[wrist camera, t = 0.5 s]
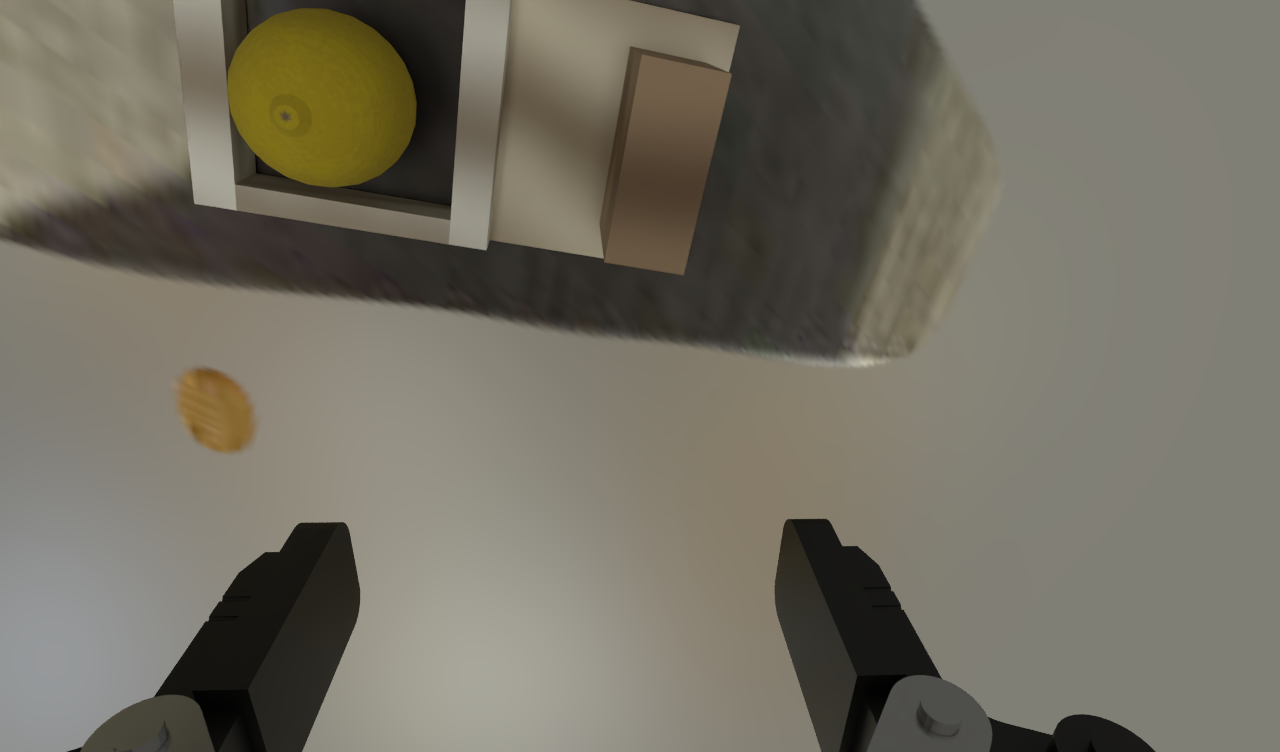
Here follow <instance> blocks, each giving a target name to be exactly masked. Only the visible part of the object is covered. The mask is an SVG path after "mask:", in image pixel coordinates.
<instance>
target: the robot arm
mask: <svg viewBox="0 0 1280 752" xmlns="http://www.w3.org/2000/svg"><path fill="white" fill-rule="evenodd" d="M775 604H776V611H777V615H778V619H779V622H780V625H781V628H782V631H783V634H784V637H785V640H786V643H787V647H788V649H789V653H790V655H791V659H792V662H793V665H794V668H795V671H796V674H797V677H798V680H799V683H800V687H801V690H802V693H803V696H804V698H805V702H806V705H807V708H808V711H809V714H810V717H811V720H812V723H813V726H814V730H815V733H816V736H817V739H818V742H819V745H820V748H821V751H822V752H1155V751H1154V750H1153V749H1152V748H1151V747H1150V746H1149V745H1148V744H1147V743H1146V742H1144V741H1143V740H1142V739H1141V738H1140V737H1138V736H1137V735H1135V734H1134V733H1132V732H1131V731H1129V730H1128V729H1126V728H1124V727H1122V726H1120V725H1118V724H1116V723H1114V722H1112V721H1110V720H1107V719H1103V718H1101V717H1097V716H1092V715H1084V714H1082V715H1072V716H1068V717H1066V718H1064V719H1062V720H1061V721H1060V722H1059V723H1058V725H1057V727H1056V729H1055V731H1054V733H1053V735H1050V734H1045V733H1042V732H1038V731H1034V730H1030V729H1026V728H1022V727H1018V726H1014V725H1010V724H1006V723H1003V722H1000V721H997V720H994V719H992V718H989V717H987V715H986V713H985V711H984V710H983V709H982V708H981V706H980V705H979V704H978V703H977V702H976V700H975V699H974V698H973V697H971V696H970V695H969V694H968V693H967V692H965V691H964V690H962V689H961V688H959V687H958V686H956V685H954V684H952V683H950V682H948V681H946V680H943V679H942V678H941V677H940V675H939V673H938V671H937V669H936V667H935V666H934V664H933V662H932V660H931V658H930V657H929V655H928V653H927V651H926V650H925V648H924V646H923V644H922V642H921V641H920V639H919V637H918V635H917V633H916V631H915V630H914V628H913V626H912V624H911V622H910V621H909V619H908V617H907V615H906V613H905V612H904V610H901V604H900V603H899V601H898V599H897V597H896V595H895V594H894V592H893V591H891V587H890V584H889V583H888V581H887V579H886V577H885V576H884V574H883V572H882V570H881V568H880V566H879V565H878V564H877V563H876V562H875V561H873V560H872V559H871V558H870V557H869V556H868V555H867V554H866V553H864V552H863V551H862V550H861V549H860V548H859V547H858V546H842V545H841V543H840V541H839V539H838V537H837V535H836V533H835V531H834V529H833V527H832V525H831V523H830V522H829V520H827V519H788V520H786V522H785V524H784V528H783V534H782V540H781V547H780V553H779V560H778V566H777V573H776V579H775ZM359 606H360V587H359V582H358V575H357V570H356V565H355V559H354V554H353V549H352V543H351V538H350V533H349V529H348V527H347V525H346V524H345V523H343V522H340V523H339V522H338V523H337V522H334V523H333V522H331V523H300V524H298V525H297V526H296V527H295V528H294V530H293V531H292V533H291V534H290V536H289V538H288V539H287V541H286V543H285V544H284V546H283V547H282V549H281V550H280V552H265V553H264V554H262V555H261V556H260V557H259V558H257V559H256V560H255V561H254V562H252V563H251V564H250V565H248V566H247V567H246V568H245V569H243V570H242V571H241V572H240V573H239V574H238V575H237V576H236V578H235V579H234V581H233V582H232V584H231V585H230V587H229V588H228V590H227V591H226V593H225V594H224V595H223V600H222V602H221V601H220V602H219V603H218V604H217V606H216V607H215V609H214V610H213V612H212V613H211V614H210V616H209V621H207V622H205V623H204V625H203V626H202V628H201V629H200V630H199V632H198V633H197V635H196V636H195V638H194V639H193V641H192V642H191V644H190V645H189V647H188V648H187V649H186V651H185V653H184V654H183V655H182V657H181V658H180V660H179V661H178V663H177V664H176V665H175V667H174V668H173V670H172V671H171V673H170V674H169V676H168V677H167V679H166V680H165V682H164V683H163V685H162V686H161V687H160V689H159V690H158V692H157V693H156V695H155V696H154V697H153V698H149V699H146V700H143V701H141V702H138V703H136V704H134V705H131V706H129V707H127V708H125V709H123V710H122V711H120V712H119V713H117V714H115V715H114V716H112V717H111V718H110V719H108V720H107V721H106V722H105V723H103V724H102V725H101V726H100V727H99V728H98V729H97V730H96V731H95V732H94V733H93V734H92V735H91V736H90V737H89V738H88V740H87V741H86V743H85V744H84V746H83V747H81V748H78V749H75V750H71V751H68V752H302V750H303V748H304V746H305V743H306V741H307V738H308V736H309V734H310V731H311V729H312V726H313V724H314V721H315V719H316V717H317V715H318V712H319V710H320V707H321V705H322V703H323V700H324V698H325V696H326V693H327V691H328V688H329V686H330V684H331V681H332V679H333V677H334V674H335V672H336V669H337V667H338V665H339V662H340V660H341V657H342V655H343V653H344V650H345V648H346V646H347V643H348V641H349V638H350V636H351V633H352V631H353V629H354V626H355V624H356V621H357V617H358V613H359Z"/></svg>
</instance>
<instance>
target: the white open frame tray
mask: <svg viewBox="0 0 1280 752" xmlns="http://www.w3.org/2000/svg"><path fill="white" fill-rule="evenodd" d="M173 5H174V15H175V24H176V34H177V43H178V52H179V62H180V71H181V81H182V90H183V100H184V109H185V119H186V128H187V138H188V147H189V157H190V166H191V176H192V185H193V195H194V204H200V205H206V206H212V207H219V208H225V209H231V210H237V211H244V212H250V213H256V214H262V215H269V216H275V217H281V218H287V219H294V220H300V221H306V222H312V223H319V224H325V225H331V226H337V227H344V228H350V229H356V230H362V231H369V232H375V233H381V234H387V235H394V236H400V237H406V238H412V239H419V240H425V241H431V242H437V243H444V244H450V245H456V246H462V247H469V248H475V249H481V250H486V249H487V247H488V244H489V241H490V240H493V241H499V242H505V243H511V244H518V245H524V246H530V247H536V248H542V249H548V250H554V251H561V252H567V253H573V254H579V255H585V256H591V257H597V258H604V262H605V263H612V264H618V265H624V266H630V267H636V268H642V269H649V270H655V271H661V272H667V273H673V274H680V275H684V271H685V267H686V263H687V259H688V255H689V251H690V246H691V242H692V238H693V234H694V230H695V226H696V221H697V217H698V213H699V209H700V205H701V201H702V197H703V192H704V188H705V184H706V180H707V176H708V172H709V167H710V163H711V159H712V155H713V151H714V147H715V142H716V138H717V134H718V130H719V126H720V122H721V117H722V113H723V109H724V105H725V101H726V97H727V92H728V88H729V84H730V80H731V76H732V74H731V73H729V70H730V66H731V62H732V57H733V53H734V49H735V45H736V40H737V36H738V32H739V28H740V26H739V25H735V24H731V23H726V22H722V21H718V20H713V19H709V18H705V17H700V16H696V15H692V14H687V13H683V12H678V11H674V10H670V9H665V8H661V7H657V6H652V5H648V4H644V3H639V2H635V1H631V0H466V5H465V20H464V34H463V48H462V62H461V77H460V91H459V105H458V119H457V134H456V148H455V162H454V176H453V191H452V205H451V206H447V205H441V204H435V203H429V202H423V201H417V200H412V199H406V198H400V197H394V196H388V195H382V194H376V193H370V192H364V191H358V190H352V189H347V188H341V187H323V186H315V185H308V184H305V183H302V182H299V181H297V180H293V179H288V178H282V177H276V176H270V175H264V174H258V173H256V163H255V153H254V152H253V151H252V150H251V149H250V147H249V146H248V144H247V143H246V142H245V140H244V139H243V137H242V136H241V135H240V133H239V131H238V129H237V127H236V124H235V122H234V120H233V117H232V115H231V112H230V106H229V101H228V96H227V83H228V70H229V67H230V65H231V62H232V59H233V57H234V54H235V51H236V49H237V48H238V47H239V45H240V44H241V43H242V41H243V40H244V39H245V38H246V36H247V35H248V34H247V18H246V2H245V0H173Z"/></svg>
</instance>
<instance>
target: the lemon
mask: <svg viewBox="0 0 1280 752" xmlns="http://www.w3.org/2000/svg"><path fill="white" fill-rule="evenodd" d="M227 96H228V101H229V106H230V112H231V115H232V117H233V120H234V122H235V124H236V127H237V129H238V131H239V133H240V135H241V136H242V137H243V139H244V140H245V142H246V143H247V144H248V146H249V147H250V149H251V150H252V151H253V152H254V153H255V154H256V155H257V156H258V157H260V158H261V159H262V160H263V161H264V162H265V163H266V164H267V165H268V166H270V167H272V168H273V169H275V170H277V171H278V172H280V173H281V174H283V175H285V176H286V177H288V178H291V179H294V180H297V181H299V182H302V183H305V184H308V185H315V186H323V187H342V186H350V185H357V184H360V183H363V182H365V181H368V180H370V179H372V178H375V177H377V176H379V175H381V174H382V173H383V172H385V171H386V170H387V169H388V168H390V167H391V166H392V165H393V164H394V163H396V162H397V161H398V159H399V158H400V156H401V155H402V153H403V152H404V150H405V149H406V148H407V146H408V145H409V142H410V139H411V136H412V133H413V130H414V127H415V124H416V106H417V102H416V97H415V91H414V86H413V82H412V79H411V77H410V75H409V72H408V70H407V68H406V65H405V63H404V62H403V60H402V59H401V58H400V56H399V55H398V53H397V52H396V51H395V49H394V48H393V46H392V45H391V44H390V43H389V42H388V41H387V40H385V39H384V38H383V37H382V36H381V35H380V34H379V33H378V32H377V31H376V30H375V29H373V28H372V27H370V26H368V25H366V24H365V23H363V22H361V21H359V20H358V19H356V18H354V17H352V16H350V15H346V14H343V13H339V12H336V11H332V10H329V9H313V8H299V9H295V10H291V11H287V12H283V13H280V14H276V15H274V16H272V17H270V18H269V19H267V20H266V21H264V22H263V23H261V24H260V25H258V26H257V27H255V28H254V29H252V30H251V31H250V33H249V34H248V35H247V36H246V38H245V39H244V40H243V41H242V43H241V44H240V45H239V47H238V48H237V49H236V51H235V54H234V57H233V59H232V62H231V65H230V67H229V70H228V83H227Z"/></svg>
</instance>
